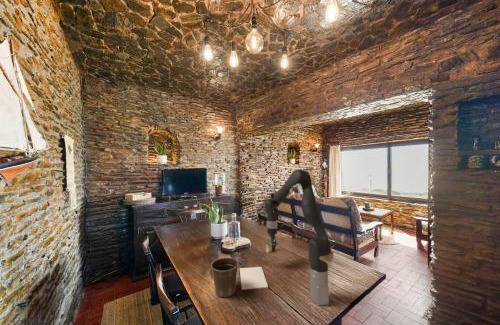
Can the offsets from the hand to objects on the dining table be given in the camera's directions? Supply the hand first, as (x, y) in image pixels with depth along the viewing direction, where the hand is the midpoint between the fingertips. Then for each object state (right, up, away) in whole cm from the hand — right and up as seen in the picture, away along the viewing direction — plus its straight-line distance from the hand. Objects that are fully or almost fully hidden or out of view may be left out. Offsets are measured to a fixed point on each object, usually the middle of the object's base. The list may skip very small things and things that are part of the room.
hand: (272, 250), depth 142 cm
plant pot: (-31, -13, -26) cm, 42 cm away
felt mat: (-15, -13, -12) cm, 23 cm away
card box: (0, -1, 0) cm, 1 cm away
